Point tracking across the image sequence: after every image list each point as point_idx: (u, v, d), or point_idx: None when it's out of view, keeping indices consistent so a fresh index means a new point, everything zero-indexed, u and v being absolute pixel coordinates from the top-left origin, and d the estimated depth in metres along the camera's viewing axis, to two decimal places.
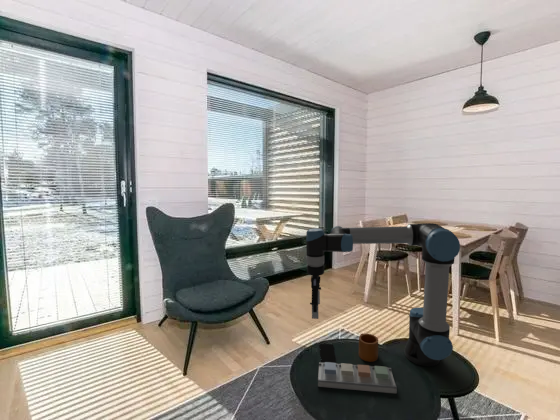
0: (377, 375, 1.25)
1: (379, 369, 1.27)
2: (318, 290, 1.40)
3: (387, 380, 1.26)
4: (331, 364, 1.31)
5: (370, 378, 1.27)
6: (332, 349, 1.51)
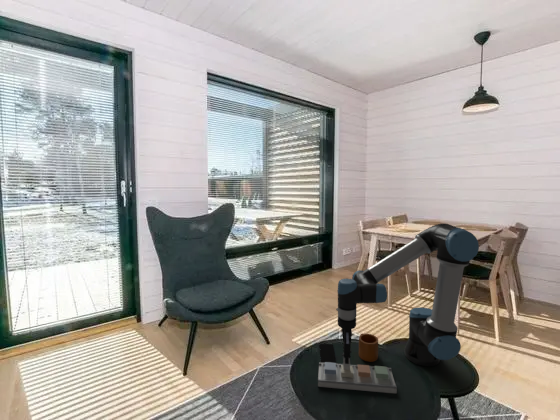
0: (377, 375, 1.25)
1: (379, 369, 1.27)
2: None
3: (387, 380, 1.26)
4: (331, 364, 1.31)
5: (370, 378, 1.27)
6: (332, 349, 1.51)
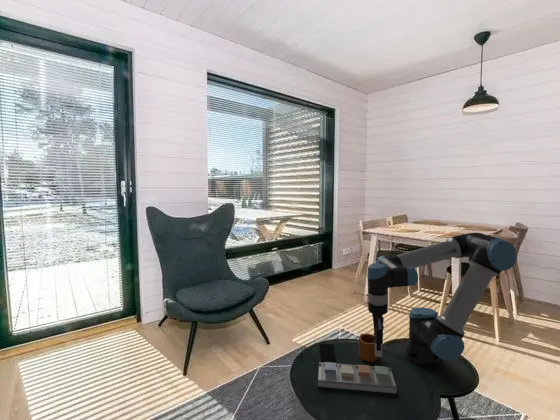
0: (377, 375, 1.25)
1: (379, 369, 1.27)
2: None
3: (387, 380, 1.26)
4: (331, 364, 1.31)
5: (370, 378, 1.27)
6: (332, 349, 1.51)
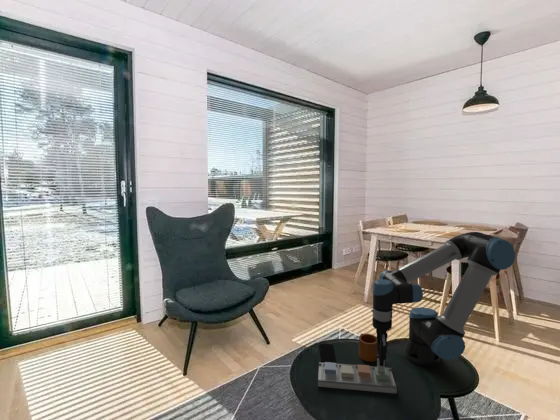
0: (377, 376, 1.25)
1: None
2: None
3: (387, 380, 1.26)
4: (331, 364, 1.31)
5: (370, 378, 1.27)
6: (332, 349, 1.51)
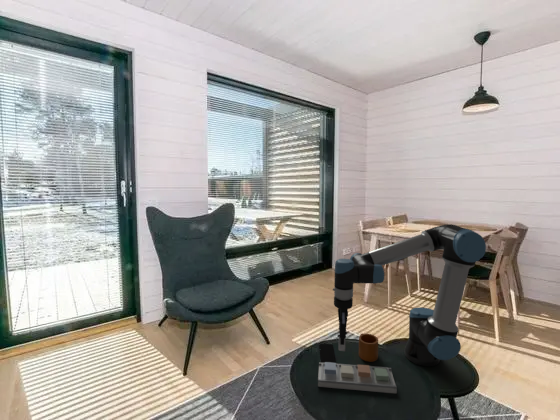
0: (377, 377, 1.25)
1: (379, 371, 1.27)
2: None
3: None
4: (331, 364, 1.31)
5: (370, 378, 1.27)
6: (332, 349, 1.51)
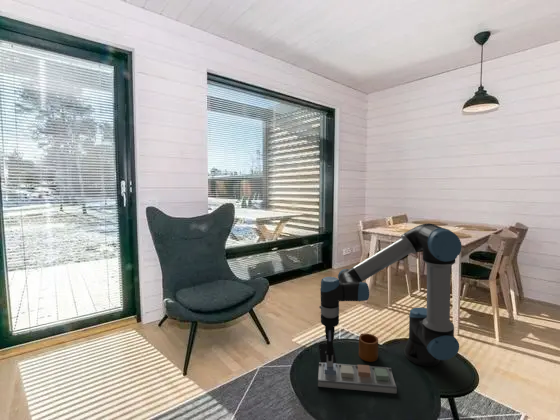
0: (377, 377, 1.25)
1: (379, 371, 1.27)
2: None
3: None
4: None
5: (370, 378, 1.27)
6: None
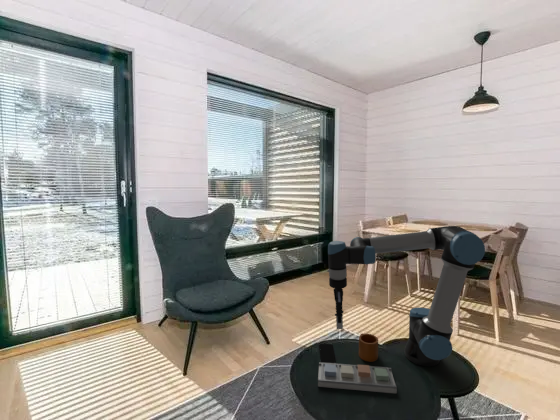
0: (377, 377, 1.25)
1: (379, 371, 1.27)
2: None
3: None
4: (331, 366, 1.32)
5: (370, 378, 1.27)
6: (332, 349, 1.51)
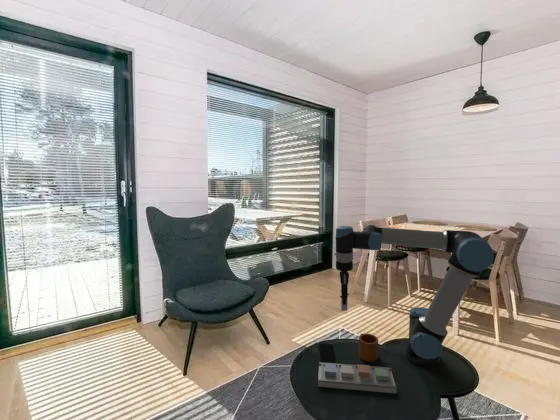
0: (377, 377, 1.25)
1: (379, 371, 1.27)
2: None
3: None
4: (331, 366, 1.32)
5: (370, 378, 1.27)
6: (332, 349, 1.51)
